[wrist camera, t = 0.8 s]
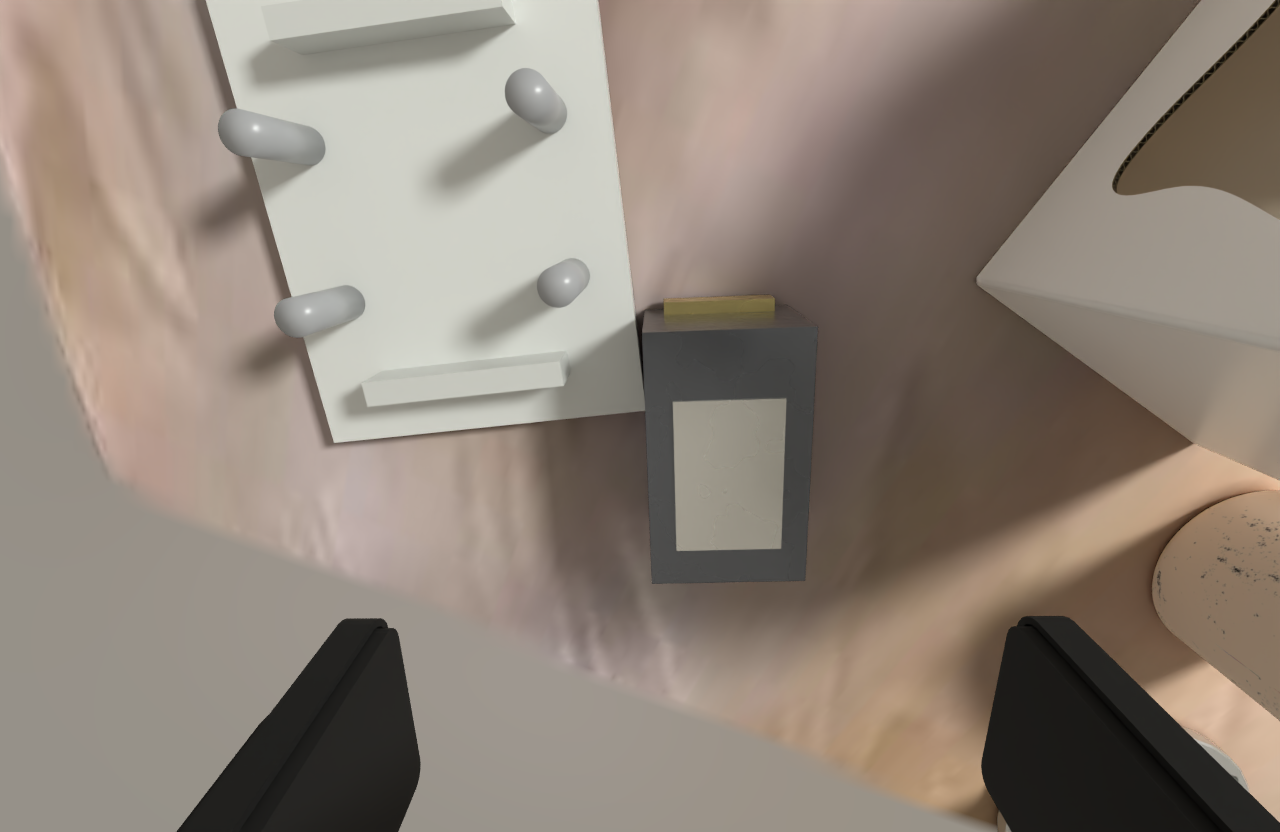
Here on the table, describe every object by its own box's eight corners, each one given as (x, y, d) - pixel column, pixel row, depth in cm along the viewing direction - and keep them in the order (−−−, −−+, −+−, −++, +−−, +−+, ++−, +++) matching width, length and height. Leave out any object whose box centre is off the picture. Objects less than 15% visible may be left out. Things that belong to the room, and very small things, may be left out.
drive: (778, 515, 29) (805, 582, 24) (652, 518, 29) (651, 585, 24) (786, 292, 26) (819, 312, 21) (644, 297, 26) (641, 318, 21)
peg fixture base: (646, 403, 27) (644, 443, 23) (345, 435, 28) (282, 480, 24) (589, -76, 22) (570, -156, 17) (216, -18, 23) (100, -79, 18)
